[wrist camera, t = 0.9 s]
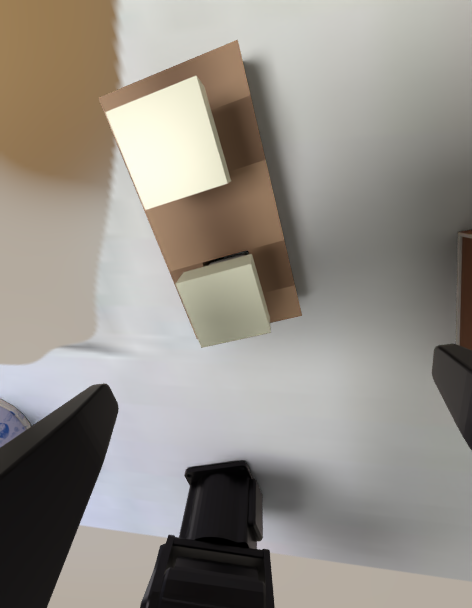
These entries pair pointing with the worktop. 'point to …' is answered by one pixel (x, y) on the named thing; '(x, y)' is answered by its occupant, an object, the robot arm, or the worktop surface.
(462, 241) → the food container
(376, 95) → the worktop surface
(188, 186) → the plunger
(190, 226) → the bar
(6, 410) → the aerosol can
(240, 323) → the plunger
